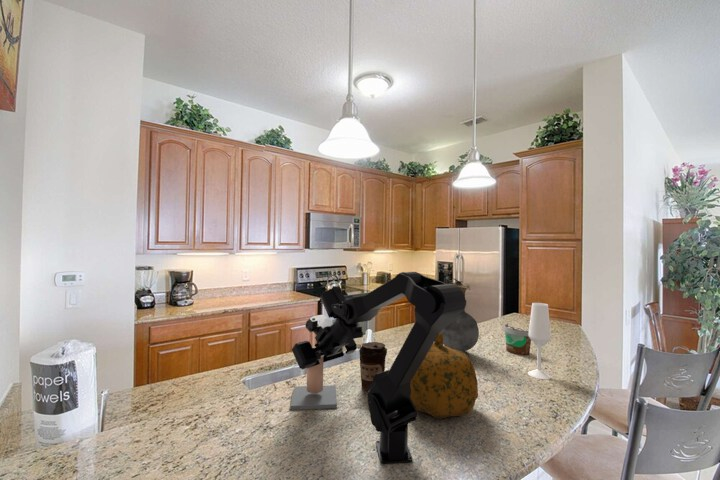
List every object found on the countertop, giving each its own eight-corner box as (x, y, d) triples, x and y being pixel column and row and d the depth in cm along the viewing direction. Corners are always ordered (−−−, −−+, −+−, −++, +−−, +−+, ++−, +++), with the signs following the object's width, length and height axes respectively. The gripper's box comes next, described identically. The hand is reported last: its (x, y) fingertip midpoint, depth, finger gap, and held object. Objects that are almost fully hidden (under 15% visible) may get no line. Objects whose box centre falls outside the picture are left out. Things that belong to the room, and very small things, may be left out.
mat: (336, 408, 82) (336, 404, 82) (290, 409, 81) (290, 405, 81) (335, 388, 93) (335, 385, 93) (294, 389, 92) (294, 386, 92)
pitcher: (461, 362, 116) (462, 281, 116) (428, 346, 133) (430, 276, 134) (482, 358, 121) (484, 280, 121) (448, 343, 138) (449, 275, 138)
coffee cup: (384, 396, 89) (385, 350, 89) (355, 393, 91) (356, 348, 91) (387, 383, 97) (388, 341, 98) (361, 380, 99) (362, 339, 99)
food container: (496, 348, 133) (496, 324, 133) (506, 346, 136) (506, 323, 136) (522, 358, 122) (522, 332, 122) (532, 356, 125) (533, 331, 125)
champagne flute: (530, 377, 104) (531, 305, 105) (525, 369, 111) (526, 301, 111) (553, 380, 102) (554, 306, 103) (547, 372, 109) (548, 303, 109)
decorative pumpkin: (398, 423, 74) (403, 337, 76) (399, 390, 95) (403, 323, 97) (487, 436, 71) (491, 346, 73) (468, 399, 92) (471, 329, 94)
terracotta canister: (320, 394, 84) (321, 356, 84) (303, 392, 85) (304, 355, 85) (325, 386, 89) (326, 350, 89) (309, 384, 90) (310, 349, 90)
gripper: (350, 302, 91) (325, 333, 99) (296, 312, 78) (272, 346, 85) (370, 335, 86) (341, 365, 93) (316, 351, 72) (288, 384, 80)
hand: (312, 364), depth 88 cm, fingers closed on terracotta canister, 4 cm apart
